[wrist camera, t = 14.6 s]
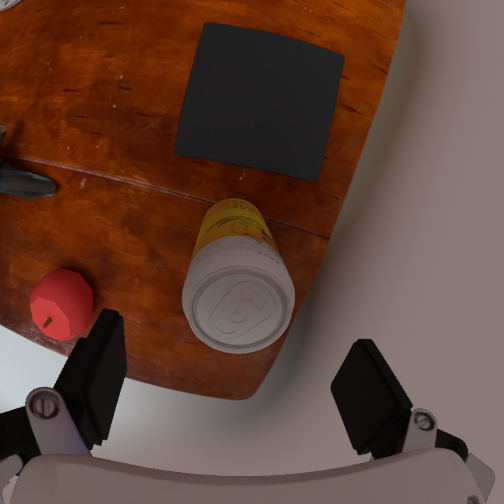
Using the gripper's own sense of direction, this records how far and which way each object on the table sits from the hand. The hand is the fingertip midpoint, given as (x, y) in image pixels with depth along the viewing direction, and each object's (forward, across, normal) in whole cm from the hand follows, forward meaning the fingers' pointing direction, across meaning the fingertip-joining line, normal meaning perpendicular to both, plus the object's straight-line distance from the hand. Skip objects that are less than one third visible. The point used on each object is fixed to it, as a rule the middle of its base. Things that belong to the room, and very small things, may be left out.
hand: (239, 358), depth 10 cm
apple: (+19, +17, +12) cm, 28 cm away
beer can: (+19, -1, +1) cm, 19 cm away
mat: (+19, -1, -12) cm, 23 cm away
